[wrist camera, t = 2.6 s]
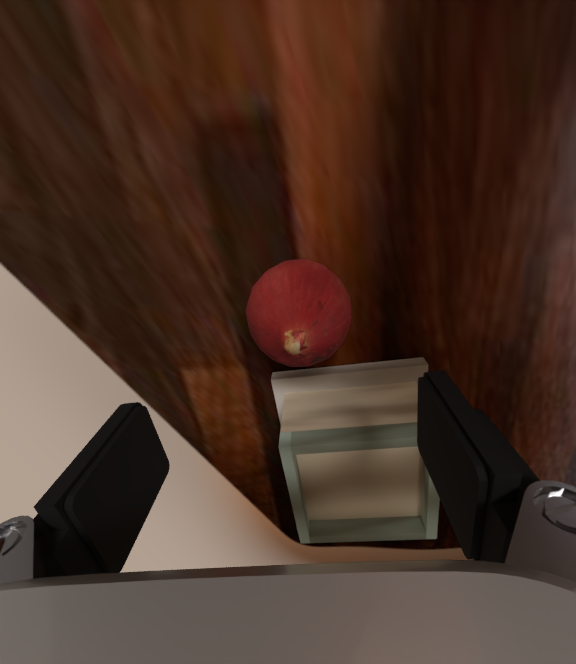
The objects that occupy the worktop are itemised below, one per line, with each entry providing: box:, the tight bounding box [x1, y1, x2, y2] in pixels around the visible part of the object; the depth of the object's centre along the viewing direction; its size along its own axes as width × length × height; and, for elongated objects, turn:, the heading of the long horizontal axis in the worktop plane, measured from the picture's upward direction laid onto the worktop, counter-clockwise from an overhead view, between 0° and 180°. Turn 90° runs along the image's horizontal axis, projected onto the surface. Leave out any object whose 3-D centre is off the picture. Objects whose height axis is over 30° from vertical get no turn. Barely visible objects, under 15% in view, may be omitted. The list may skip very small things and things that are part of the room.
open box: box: [271, 357, 440, 543], centre depth 23 cm, size 12×11×6 cm
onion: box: [246, 259, 352, 367], centre depth 17 cm, size 6×6×8 cm
